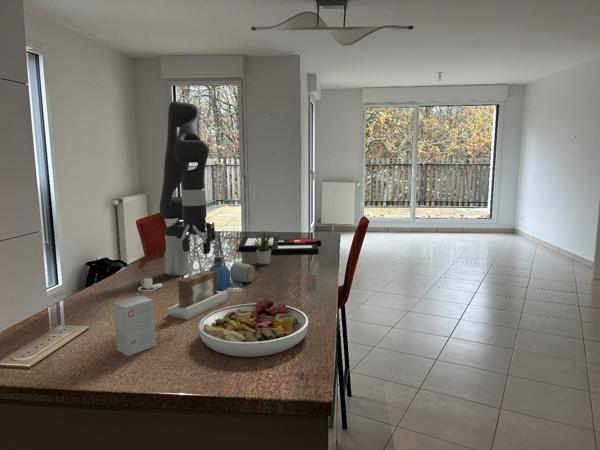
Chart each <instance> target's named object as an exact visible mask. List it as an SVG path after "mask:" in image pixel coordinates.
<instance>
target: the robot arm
mask: <svg viewBox="0 0 600 450" xmlns="http://www.w3.org/2000/svg"><path fill="white" fill-rule="evenodd" d="M167 113H168V114H167V115H168V116H167V139H166V140H167V141H166V148H165V149H166V150H165V157H164V168H163V182H162V183H163V184H162V190H161V195H160V200H159V201H160V202H159V214H160V215H159V216H160V217H161V218H162V219H163V220H173V219H175V220H176V219H177V220H176V221H175V222H174V223H173V224H171V225H169V226H167V227H166V228H164V237H165V238H164V239H165V240H164V241H165V251H164V266H165V274H167V275H168V276H172V277H174V276H175V277H177V276H184V275H188V274H190V258H189V257H190V256H189V251H190V240H189V238H190V237H191V236H192V235H195V236H198V237H199V238H200V239H201V240H202V248H203V249H202V250H203V251H202V252H203V255H209V254H210V253H211V242H213V241H216V231H215V223H214V222H213V221H210V222H207V221H206V218H207V215H208V214H207V196H206V189H205V171H206V165H207V161H208V159H209V158H208V157H209V152H210V149H209V148H210V147H209V145H208V143H207V142H206V141H205V140H202V139H201V135H200V125H201V124H200V121H201V120H200V115H201V112H200V108H199V107H198V105H197V104H193V103H190V102H189V103H188V102H183V101H181V102H180V101H172V102H170V104H169V106H168V112H167ZM177 128H178V132H177ZM192 163H193V164H195V163H197V165H196V167H195V168H193V169H189V166H190V164H192ZM180 185H181V196H173V194H174V192H175V191H176V189H177V188H178V187H179V186H180Z"/></svg>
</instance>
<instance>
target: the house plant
mask: <svg viewBox="0 0 600 450" xmlns="http://www.w3.org/2000/svg"><path fill="white" fill-rule="evenodd" d="M260 231H261V232H260V237H261V243H260V242H259V240H258V238H257V237H258V236H256V235H255V234H253V233H252V232H250V234H251V235H252V236H253V237H255V238H256V239H257V241H258V242H259V244H260V245H259V244H258V243H257V242H256V241H255V240H254V241H255V244H253V245H255V246H257V247H258V246H259V247H258V249H257V250H256V251H255V252H256V256H257V262H258V264H259V265H269V264H270V263H271V256H272V251H271V249H267V247H268V245H269V246H270V245H272V244H270V243H274V242H270V243H269V242H268V241H269V240H271V239H272V238H273V237H275V234H277V233H279V232H278V231H277V232H274V230H273V231H271V232H269V233H268V235H266V234H267V233H266V231H265V229H263V231H262V229H260ZM266 237H267V238H266ZM269 237H272V238H271V239H270V238H269ZM275 242H277V241H275ZM268 243H269V244H268ZM256 244H257V245H256Z"/></svg>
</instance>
